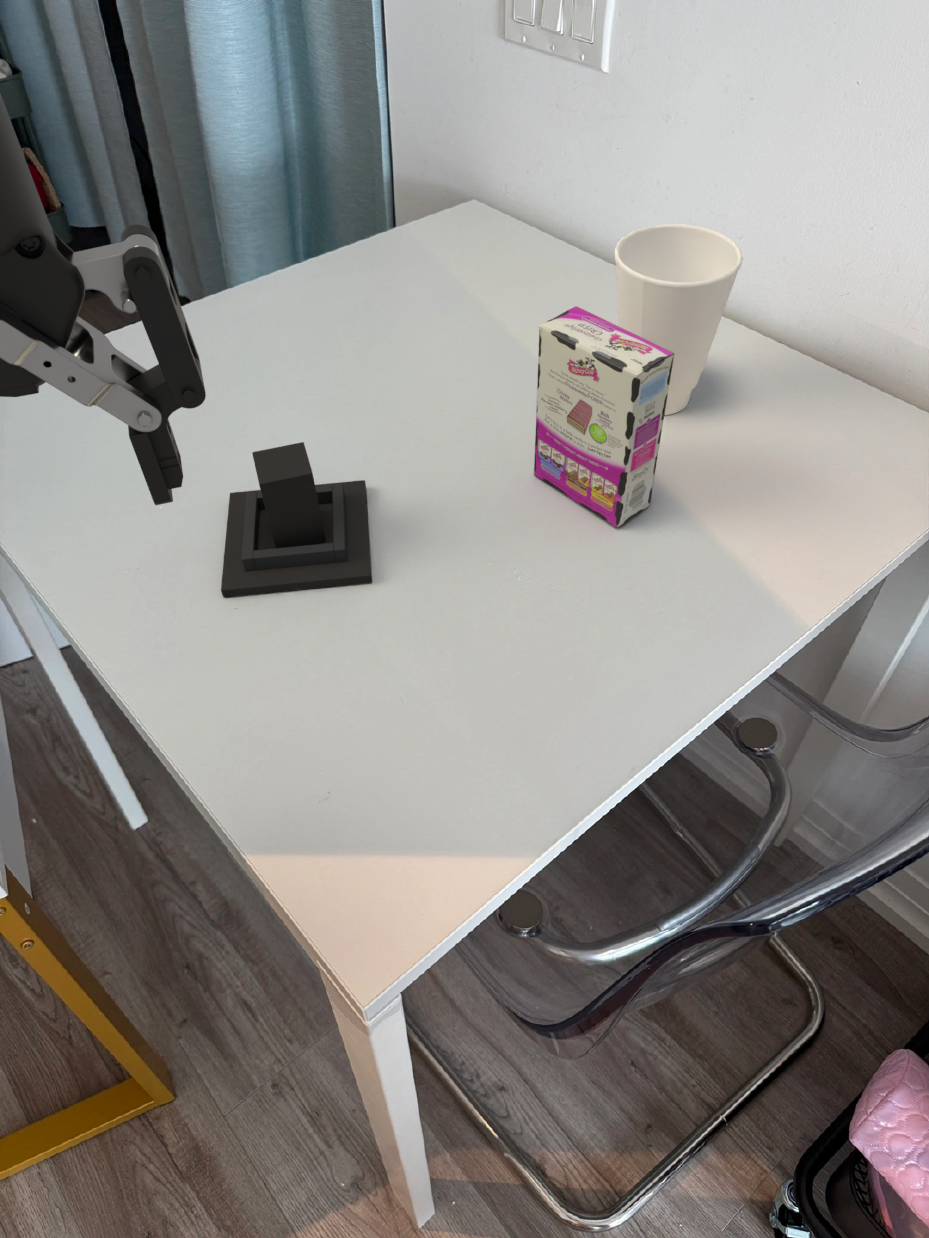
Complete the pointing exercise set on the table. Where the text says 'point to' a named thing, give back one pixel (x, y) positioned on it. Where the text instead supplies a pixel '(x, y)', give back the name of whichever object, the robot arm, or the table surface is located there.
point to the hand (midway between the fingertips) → (56, 513)
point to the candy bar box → (599, 413)
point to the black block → (289, 495)
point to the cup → (676, 294)
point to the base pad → (302, 567)
